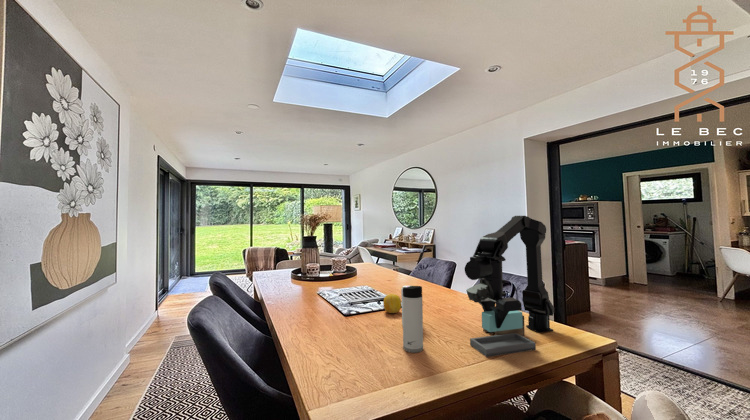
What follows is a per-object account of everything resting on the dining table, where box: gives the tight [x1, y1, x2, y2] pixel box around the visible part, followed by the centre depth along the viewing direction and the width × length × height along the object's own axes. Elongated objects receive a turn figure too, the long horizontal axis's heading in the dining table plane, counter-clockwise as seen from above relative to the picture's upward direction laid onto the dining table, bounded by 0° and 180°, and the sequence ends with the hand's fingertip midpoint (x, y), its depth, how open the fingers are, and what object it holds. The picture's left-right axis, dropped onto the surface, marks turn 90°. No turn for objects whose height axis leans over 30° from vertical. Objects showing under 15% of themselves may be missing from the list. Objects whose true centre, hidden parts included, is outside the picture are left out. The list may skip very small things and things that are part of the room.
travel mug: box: [402, 285, 424, 354], centre depth 95 cm, size 6×7×20 cm
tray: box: [469, 333, 537, 358], centre depth 95 cm, size 18×9×2 cm, turn 105°
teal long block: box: [481, 310, 523, 333], centre depth 96 cm, size 12×4×5 cm, turn 105°
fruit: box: [382, 293, 402, 314], centre depth 132 cm, size 9×8×8 cm
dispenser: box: [482, 314, 526, 337], centre depth 107 cm, size 12×8×7 cm
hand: (493, 325), depth 95 cm, fingers closed on teal long block, 4 cm apart
